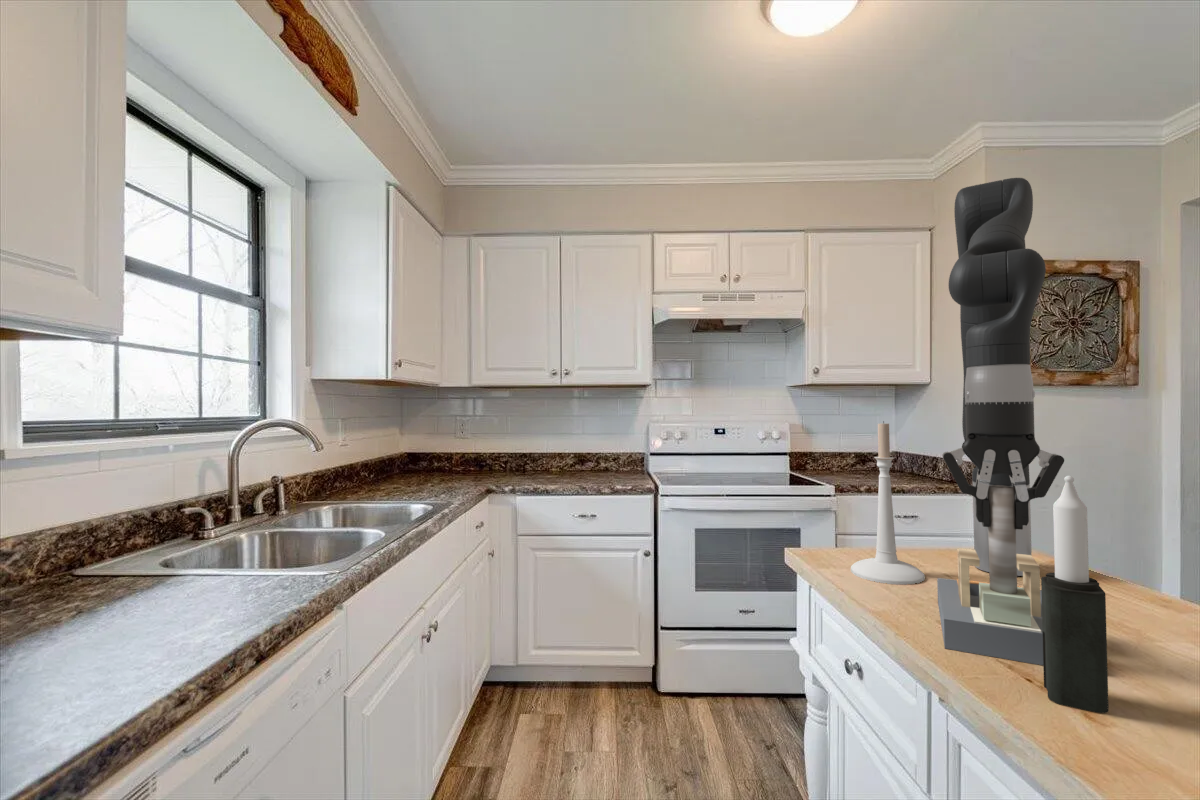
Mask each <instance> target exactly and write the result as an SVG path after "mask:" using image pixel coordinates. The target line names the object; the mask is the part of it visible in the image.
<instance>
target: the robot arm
mask: <svg viewBox="0 0 1200 800" xmlns="http://www.w3.org/2000/svg"><path fill="white" fill-rule="evenodd" d="M1033 198H1034V196H1033V189H1032V186H1031V183H1030V182H1029V180H1028V179H1026V178H1023V177H1011V178H1005V179H1000V180H994V181H990V182H989V181H988V182H985V183H979V184H975V185H971V186H965V187H962V188H961V189H960V190H959V191H958V192H957V193H956V195H955V200H954V210H953V211H954V227H955V237H956V245H957V246H956V247H957V255H958V258H957V260H956V262H954V265H953V267H952V268H951V271H950V273H949V277H948V292H949V295H950V297H951V298H952V300H953V301H954V302H955V303H956V304H958V305H959V306H960V314H959V316H960V317H959V319H960V339H961V353H962V365H963V367H962V368H963V370H962V371H963V388H962V389H963V391H962V392H963V395H962V419H961V421H962V423H961V424H962V435H963V436H962V437H963V439H964V441H963V442H962V443H961V447H960V448H956V449H954V450H951V451H945V452H943V453H942V459H943V460H944V463H945V464H946V467H947V468H948V470H949V471H950V473H951V475H952V477H953V479H954V481H955V482H956V483H955V484H957V487H958V488H959V490H960V491H961V493H962V494H965V495H970V496H971V497H972V505H973V506H972V508H973V509H972V511H973V512H972V513H973V550H975V551H976V553H977V555H978V557H979V559H980V567H978V566H974V567H975V568H976V569H979V570H981V571H983V572H987V573H989V537H988V527H990V513H989V500H988V497H987V493H988V488H989V485H1003V486H1011V487H1015V526H1016V554H1025V555H1031V556H1032V520H1031V519H1032V518H1031V517H1032V516H1031V515H1032V514H1031V513H1032V512H1031V510H1032V509H1031V500H1035V499H1039V498H1044V497H1045V496H1047V493H1048V491H1050V488H1051V486H1052V485H1053V483H1054V481H1055V479H1056V477H1057V476H1058V474H1059V472H1060V470H1061V468H1062V466H1063V464H1064V462H1065V458H1064V457H1063V455H1060V454H1057V453H1050V452H1048V451H1045V450H1042V449H1041V448H1040V446H1039V444H1038V442H1037V441H1036V437H1035V403H1034V401H1035V396H1036V395H1035V394H1036V393H1035V391H1034V390H1035V389H1034V380H1033V378H1034V377H1033V375H1032V369H1031V328H1032V327H1031V326H1032V320H1033V315H1034V312H1035V307H1036V305H1037V302H1038V299H1039V296H1040V293H1041V290H1042V287H1043V285H1044V281H1045V278H1046V271H1047V270H1046V268H1047V266H1046V262H1045V260H1044V258H1043V257H1042V255H1041V254H1040V253H1039V252H1038V251H1036V250H1034V249H1033V248H1026V235H1027V233H1028V231H1029V227H1030V225H1031V223H1032V222H1031V221H1032V217H1033V209H1034V208H1033V207H1034V199H1033ZM964 455H965V456H966V457H967V458H968V459H969V460H970V461H971V462H972V463H973V465H975V467H973V468H972V475H971V476H972V477H971V479H972V480H971V481H972V484H969V482H968V480H967V478H966V477H965V475H964V473H963V471H962V469H961V468H960V466H961V465H962V464H964V461H963V458H964V457H963V456H964ZM1036 457H1037V458H1038V459H1039V461H1038V465H1039V466H1040V467H1041V470H1040V472H1039V473H1038V475H1037V476H1036V479H1035V480H1034V483H1032V486H1031V485H1030V484H1031V482H1030V464H1031V463H1032V462H1033V461H1034V460H1035V459H1036ZM1032 557H1033V556H1032ZM1020 576H1021V577H1023V571H1019V570H1018V568H1017V577H1020Z"/></svg>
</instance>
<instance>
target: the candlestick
mask: <svg viewBox="0 0 1200 800" xmlns="http://www.w3.org/2000/svg"><path fill="white" fill-rule="evenodd" d="M877 442H878V443H877V445H878V446H877V448H878V450H877V451H878V453H877V454H878V455H877V456H874V457H873V458H874V459H875V460H876V466H877V468H879V469H878V470H879V475H878V493H877V498H878V499H877V521H876V522H877V527H876V548H875V551H876V552H875V557H870V558H864V559H860V560H858V561H855V562H854V563H853V564H851V566H850V573H852V574H853V575H854V576H856V577H858V578H861V579H863V580H866V579H867V580H866V581H869V580H870V581H871V582H874V581H875V582H874V583H879V582H880V583H879V584H885V583H887V585H897V586H898V585H900V586H903V585H904V586H906V585H907V584H910V585H916V584H915V583H917V584H921V583H923V582H925V578H926V575H925V574H924V573H923V571H921V569H919V568H918V567H916V566H914V565H912V564H910V563H908V562H905V561H902V560H899V559H898V555H897V544H896V536H895V535H896V534H895V532H896V531H895V523H894V508H893V495H892V483H891V481H892V480H891V475H890V470H891V469H890V468H892V466H893V464H892V461H893V460H894V459H895V457H892V456H890V455H891V454H890V453H891V450H890V423H885V421H884V420H883V421H882V422H881V423H877ZM922 581H923V582H922ZM920 582H921V583H920Z"/></svg>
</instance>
